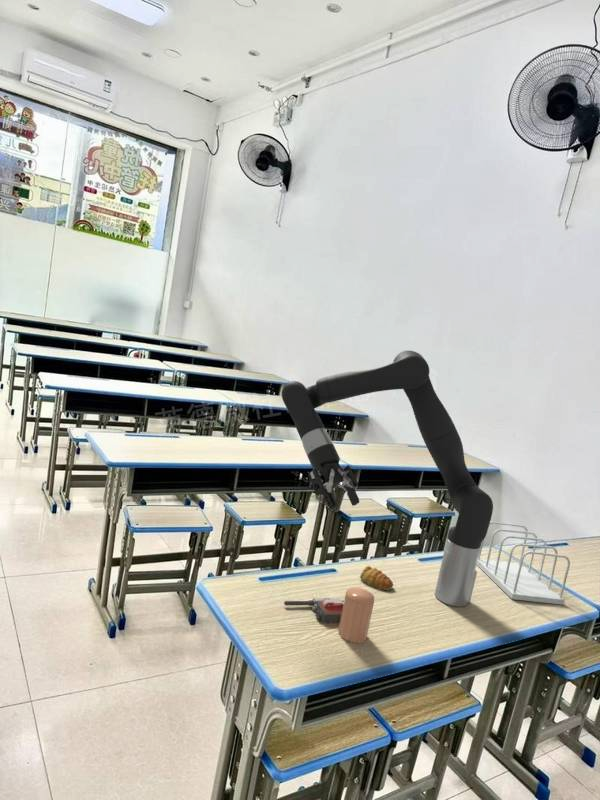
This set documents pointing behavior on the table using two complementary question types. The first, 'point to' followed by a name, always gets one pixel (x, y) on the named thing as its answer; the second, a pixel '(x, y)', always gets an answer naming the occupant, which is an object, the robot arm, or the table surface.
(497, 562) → the file sorter
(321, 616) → the walkie-talkie
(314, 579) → the table surface
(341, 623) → the cup
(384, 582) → the pastry
